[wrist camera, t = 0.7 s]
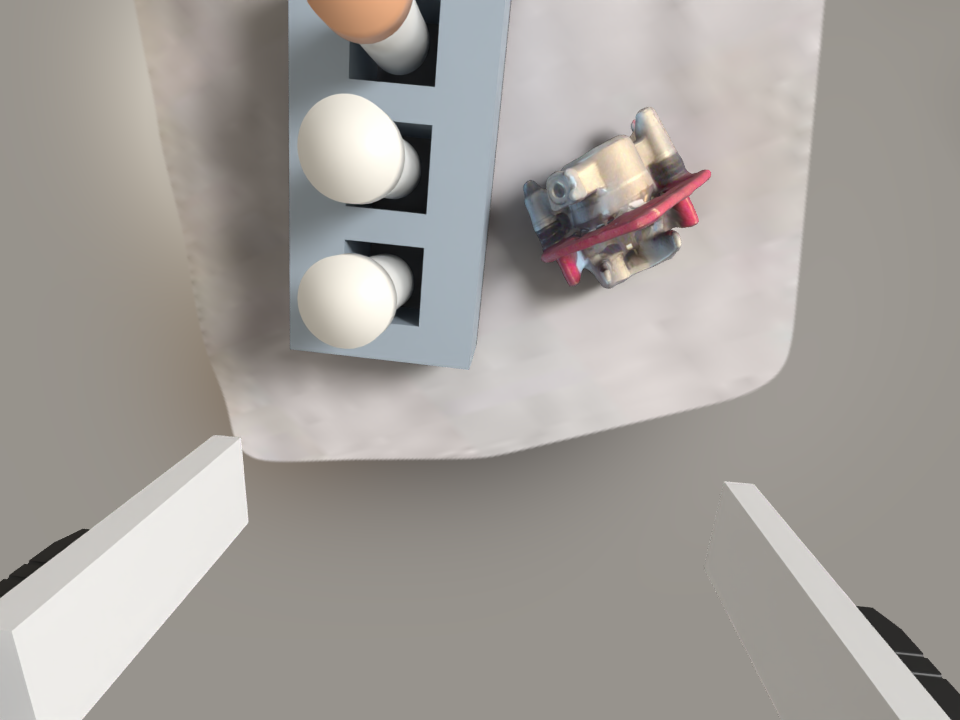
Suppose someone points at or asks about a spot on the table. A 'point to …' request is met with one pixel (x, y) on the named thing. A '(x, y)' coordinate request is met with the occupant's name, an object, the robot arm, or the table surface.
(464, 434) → the table surface
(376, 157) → the cream plunger
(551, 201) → the brake caliper
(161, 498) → the robot arm
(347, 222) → the blue peg holder block
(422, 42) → the peach ball knob
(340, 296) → the cream plunger
